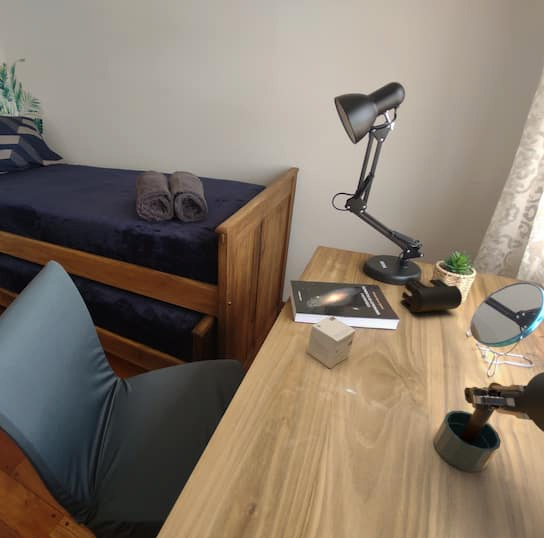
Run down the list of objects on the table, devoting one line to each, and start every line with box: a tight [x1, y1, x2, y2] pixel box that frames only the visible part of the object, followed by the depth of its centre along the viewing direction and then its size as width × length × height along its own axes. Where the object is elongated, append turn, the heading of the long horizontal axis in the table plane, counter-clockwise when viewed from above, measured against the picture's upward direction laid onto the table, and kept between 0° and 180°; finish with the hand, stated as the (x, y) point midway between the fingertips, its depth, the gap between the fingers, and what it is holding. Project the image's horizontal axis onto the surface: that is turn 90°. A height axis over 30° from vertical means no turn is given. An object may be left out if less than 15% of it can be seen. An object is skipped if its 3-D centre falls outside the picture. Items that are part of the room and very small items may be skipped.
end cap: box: [400, 278, 463, 313], centre depth 87 cm, size 10×7×7 cm
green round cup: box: [433, 410, 502, 473], centre depth 55 cm, size 7×7×6 cm
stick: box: [459, 382, 503, 446], centre depth 52 cm, size 2×2×14 cm
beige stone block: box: [306, 315, 356, 369], centre depth 73 cm, size 6×6×7 cm
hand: (476, 395), depth 53 cm, fingers closed on stick, 2 cm apart
